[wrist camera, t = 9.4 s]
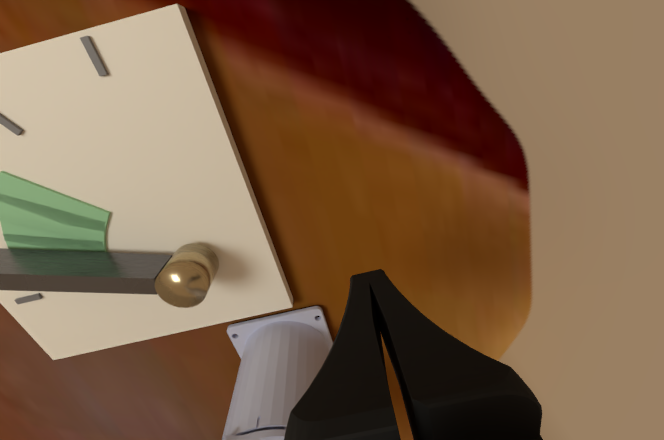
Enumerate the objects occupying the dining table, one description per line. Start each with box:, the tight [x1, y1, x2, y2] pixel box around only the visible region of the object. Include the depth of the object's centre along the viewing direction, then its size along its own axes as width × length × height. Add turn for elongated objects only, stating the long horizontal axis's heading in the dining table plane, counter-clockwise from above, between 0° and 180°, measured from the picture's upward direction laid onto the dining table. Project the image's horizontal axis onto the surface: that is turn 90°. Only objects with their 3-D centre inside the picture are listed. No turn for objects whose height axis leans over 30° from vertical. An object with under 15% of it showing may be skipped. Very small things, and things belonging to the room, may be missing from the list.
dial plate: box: [0, 4, 293, 360], centre depth 21 cm, size 20×20×1 cm
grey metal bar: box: [0, 243, 219, 308], centre depth 20 cm, size 14×3×3 cm, turn 85°
